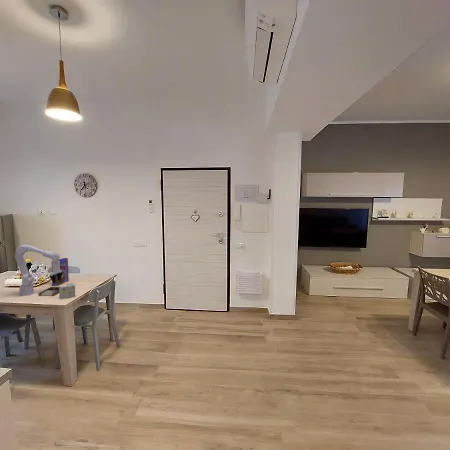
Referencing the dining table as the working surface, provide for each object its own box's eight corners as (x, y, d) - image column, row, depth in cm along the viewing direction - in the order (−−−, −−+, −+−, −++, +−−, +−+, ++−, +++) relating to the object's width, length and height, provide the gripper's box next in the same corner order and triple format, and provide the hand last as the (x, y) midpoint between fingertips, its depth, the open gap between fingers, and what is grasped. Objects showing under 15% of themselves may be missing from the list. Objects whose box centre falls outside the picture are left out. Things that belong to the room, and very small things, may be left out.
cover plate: (41, 295, 226) (41, 293, 226) (47, 292, 234) (47, 290, 234) (52, 295, 226) (52, 293, 226) (57, 292, 234) (57, 290, 234)
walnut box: (38, 296, 225) (38, 293, 225) (51, 290, 242) (51, 286, 242) (53, 296, 225) (53, 293, 225) (65, 290, 242) (65, 286, 242)
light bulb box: (72, 294, 231) (72, 282, 230) (75, 296, 227) (75, 284, 226) (58, 298, 223) (58, 285, 222) (62, 299, 218) (61, 287, 217)
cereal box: (57, 286, 253) (56, 261, 251) (52, 286, 253) (51, 261, 251) (68, 280, 270) (67, 258, 268) (64, 280, 270) (63, 257, 268)
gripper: (55, 268, 228) (56, 284, 229) (65, 265, 243) (65, 279, 244) (47, 268, 228) (47, 284, 229) (57, 264, 243) (58, 279, 244)
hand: (56, 281), depth 237 cm, fingers open, 7 cm apart
